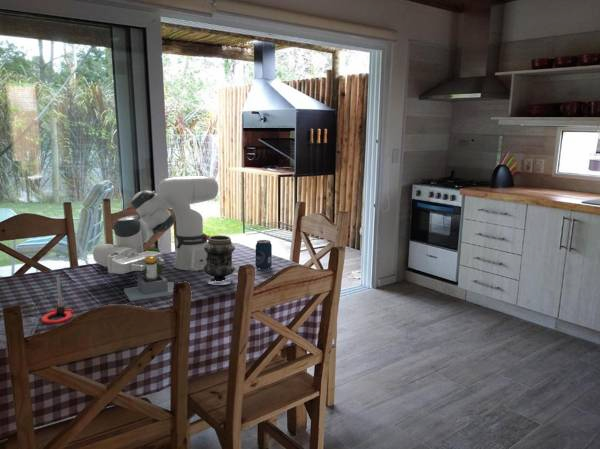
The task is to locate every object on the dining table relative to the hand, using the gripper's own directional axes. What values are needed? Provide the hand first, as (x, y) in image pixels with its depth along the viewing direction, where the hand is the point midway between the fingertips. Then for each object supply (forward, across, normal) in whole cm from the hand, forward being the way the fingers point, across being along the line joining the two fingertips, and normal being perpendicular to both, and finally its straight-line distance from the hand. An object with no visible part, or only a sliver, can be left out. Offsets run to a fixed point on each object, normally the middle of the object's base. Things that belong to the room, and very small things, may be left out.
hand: (153, 265), depth 174 cm
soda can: (+15, -49, -11) cm, 52 cm away
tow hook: (-7, +33, -11) cm, 36 cm away
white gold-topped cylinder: (-1, 0, -9) cm, 9 cm away
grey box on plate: (-1, 0, -10) cm, 11 cm away
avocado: (-16, -14, -11) cm, 24 cm away
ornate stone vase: (+11, -23, -11) cm, 28 cm away
